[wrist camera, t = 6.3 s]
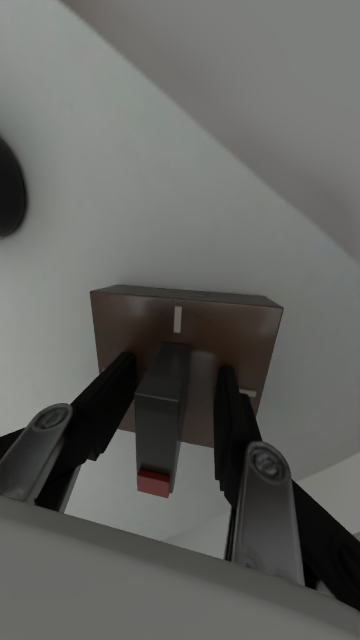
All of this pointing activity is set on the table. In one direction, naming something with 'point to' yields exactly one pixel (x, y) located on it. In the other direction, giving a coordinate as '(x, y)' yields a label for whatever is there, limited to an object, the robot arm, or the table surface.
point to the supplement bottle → (9, 191)
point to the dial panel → (189, 342)
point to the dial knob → (161, 418)
